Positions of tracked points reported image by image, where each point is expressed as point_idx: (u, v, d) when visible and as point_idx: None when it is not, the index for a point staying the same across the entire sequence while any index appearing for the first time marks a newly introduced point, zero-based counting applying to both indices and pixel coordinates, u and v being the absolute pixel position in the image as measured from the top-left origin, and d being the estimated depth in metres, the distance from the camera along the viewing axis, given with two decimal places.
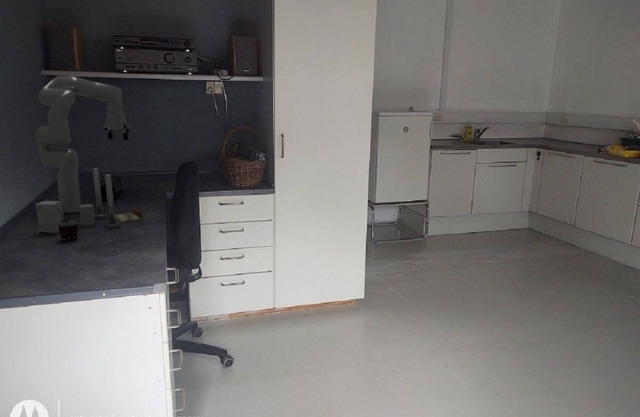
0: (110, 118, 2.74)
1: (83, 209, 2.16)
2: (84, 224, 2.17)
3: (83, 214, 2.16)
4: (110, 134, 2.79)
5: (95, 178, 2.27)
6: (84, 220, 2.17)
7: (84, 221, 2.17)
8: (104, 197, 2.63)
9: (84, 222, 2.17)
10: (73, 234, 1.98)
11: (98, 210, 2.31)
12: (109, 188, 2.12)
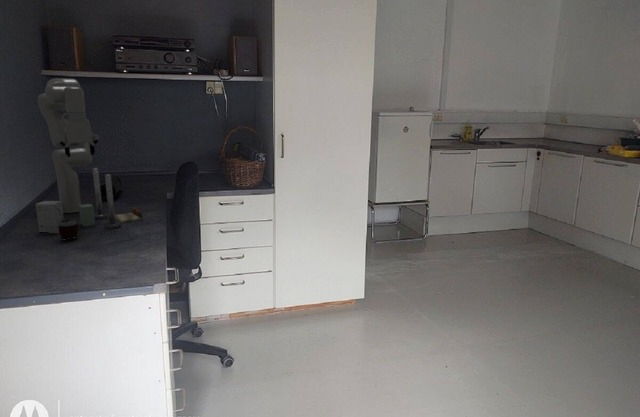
0: (74, 128, 2.06)
1: (83, 209, 2.16)
2: (84, 224, 2.17)
3: (83, 214, 2.16)
4: None
5: (95, 178, 2.27)
6: (84, 220, 2.17)
7: (84, 221, 2.17)
8: (104, 197, 2.63)
9: (84, 222, 2.17)
10: (73, 234, 1.98)
11: (98, 210, 2.31)
12: (109, 188, 2.12)
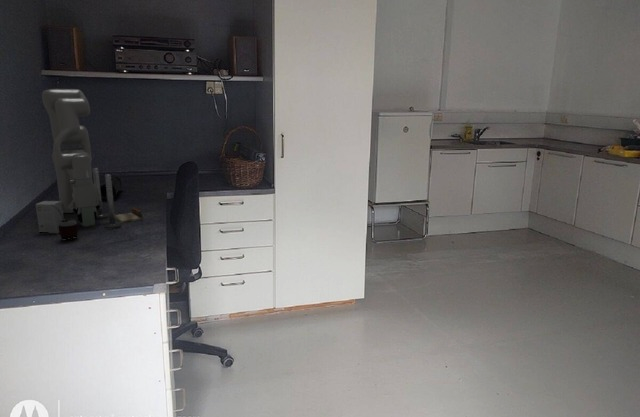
0: (81, 194, 2.14)
1: (83, 209, 2.16)
2: (84, 224, 2.17)
3: (83, 214, 2.16)
4: None
5: (95, 178, 2.27)
6: (84, 220, 2.17)
7: (84, 221, 2.17)
8: (104, 197, 2.63)
9: (84, 222, 2.17)
10: (73, 234, 1.98)
11: (98, 210, 2.31)
12: (109, 188, 2.12)
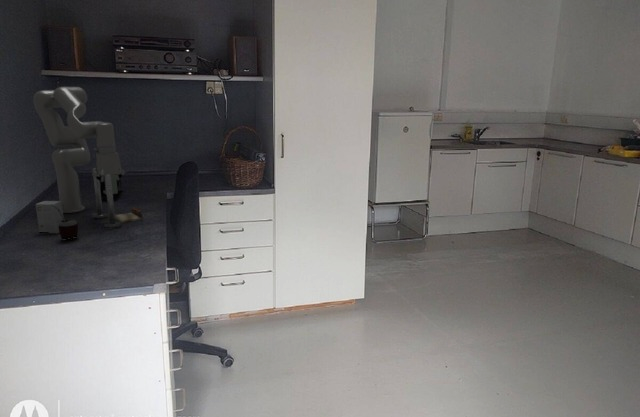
0: (104, 161, 2.17)
1: None
2: None
3: None
4: None
5: (95, 178, 2.27)
6: None
7: None
8: (104, 197, 2.63)
9: None
10: (73, 234, 1.98)
11: (98, 210, 2.31)
12: (109, 188, 2.12)
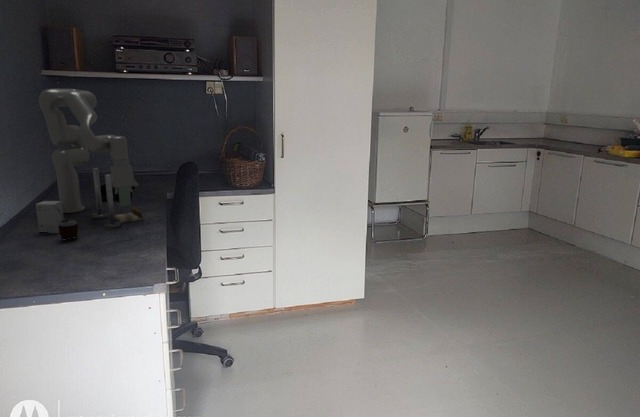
0: (118, 174, 2.22)
1: (120, 189, 2.24)
2: (121, 204, 2.25)
3: (120, 194, 2.24)
4: None
5: (95, 178, 2.27)
6: (121, 200, 2.25)
7: (121, 201, 2.25)
8: (104, 197, 2.63)
9: (121, 202, 2.25)
10: (73, 234, 1.98)
11: (98, 210, 2.31)
12: (109, 188, 2.12)
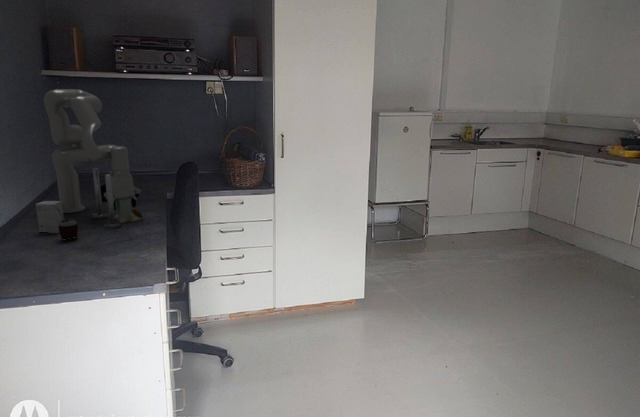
0: (119, 184, 2.23)
1: (121, 202, 2.26)
2: (121, 216, 2.27)
3: (121, 207, 2.26)
4: None
5: (95, 178, 2.27)
6: (122, 212, 2.27)
7: (122, 213, 2.27)
8: (104, 197, 2.63)
9: (122, 214, 2.27)
10: (73, 234, 1.98)
11: (98, 210, 2.31)
12: (109, 188, 2.12)
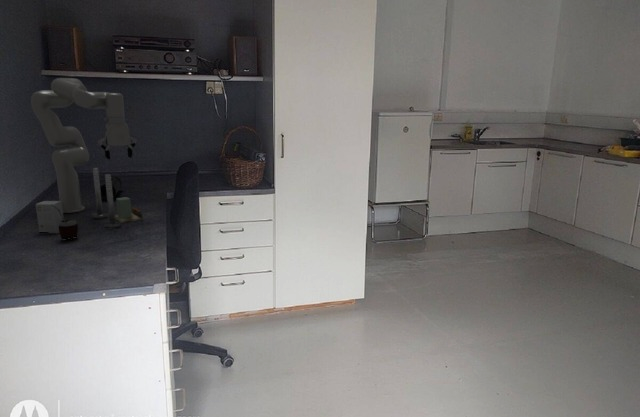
0: (114, 132, 2.17)
1: (121, 202, 2.26)
2: (121, 216, 2.27)
3: (121, 207, 2.26)
4: None
5: (95, 178, 2.27)
6: (122, 212, 2.27)
7: (122, 213, 2.27)
8: (104, 197, 2.63)
9: (122, 214, 2.27)
10: (73, 234, 1.98)
11: (98, 210, 2.31)
12: (109, 188, 2.12)
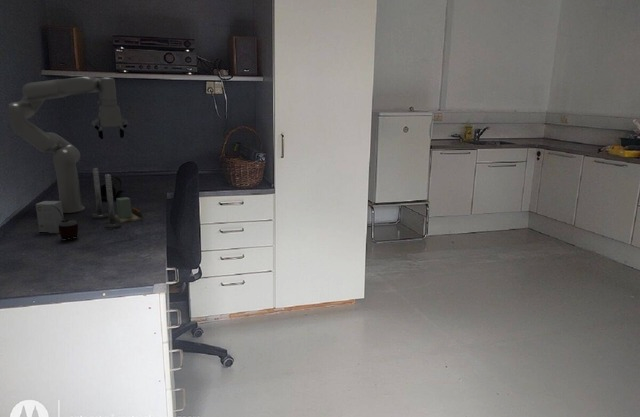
0: (107, 113, 2.34)
1: (121, 202, 2.26)
2: (121, 216, 2.27)
3: (121, 207, 2.26)
4: None
5: (95, 178, 2.27)
6: (122, 212, 2.27)
7: (122, 213, 2.27)
8: (104, 197, 2.63)
9: (122, 214, 2.27)
10: (73, 234, 1.98)
11: (98, 210, 2.31)
12: (109, 188, 2.12)
